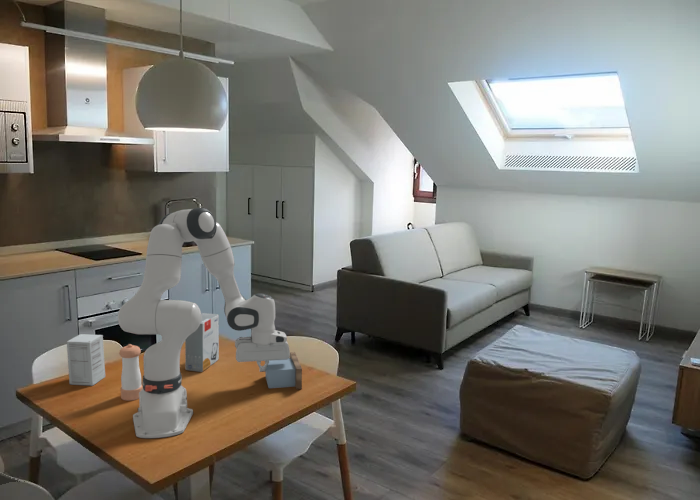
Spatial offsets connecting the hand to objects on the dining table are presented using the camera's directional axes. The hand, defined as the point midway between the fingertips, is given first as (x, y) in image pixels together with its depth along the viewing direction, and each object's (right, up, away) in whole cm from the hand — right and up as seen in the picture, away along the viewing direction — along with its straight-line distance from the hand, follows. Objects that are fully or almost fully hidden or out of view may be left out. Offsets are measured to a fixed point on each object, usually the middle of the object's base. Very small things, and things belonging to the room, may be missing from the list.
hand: (262, 371), depth 214 cm
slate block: (+6, -4, +2) cm, 8 cm away
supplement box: (-66, -3, -1) cm, 66 cm away
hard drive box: (-27, -1, +17) cm, 32 cm away
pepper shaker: (-44, -6, -14) cm, 47 cm away
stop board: (+12, -4, +4) cm, 13 cm away
